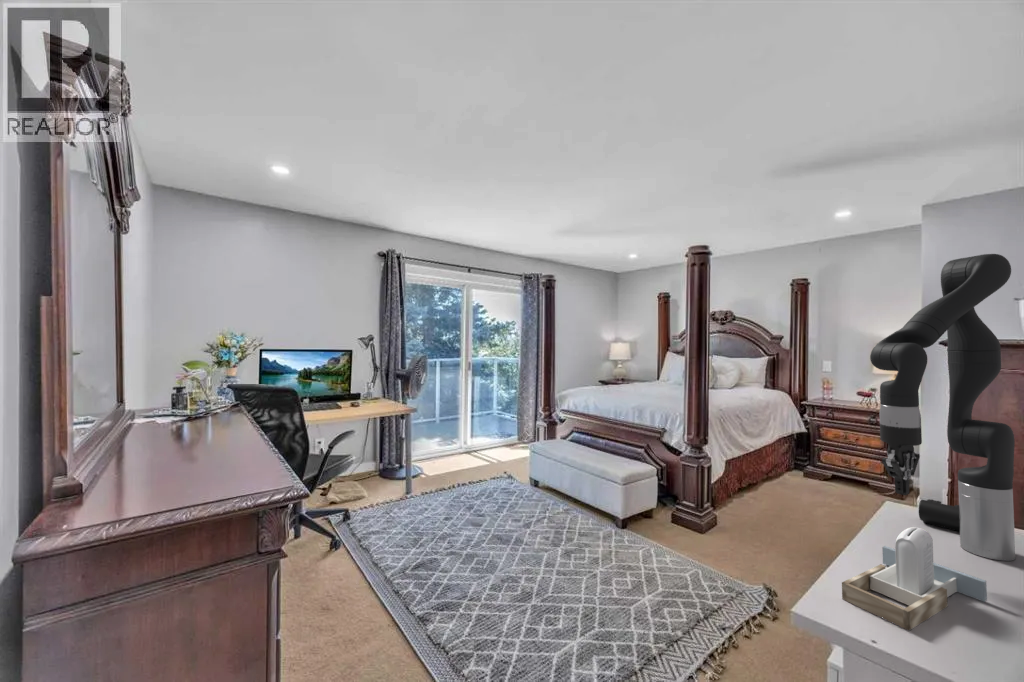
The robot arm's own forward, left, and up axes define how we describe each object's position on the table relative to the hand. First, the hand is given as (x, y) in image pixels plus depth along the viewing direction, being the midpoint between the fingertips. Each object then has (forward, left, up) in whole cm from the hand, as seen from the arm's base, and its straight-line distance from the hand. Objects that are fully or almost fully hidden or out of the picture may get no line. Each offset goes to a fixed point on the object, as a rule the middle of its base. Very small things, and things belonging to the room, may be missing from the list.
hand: (902, 493), depth 103 cm
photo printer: (+14, +7, -16) cm, 22 cm away
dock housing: (+22, +7, -16) cm, 28 cm away
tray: (+14, +7, -17) cm, 23 cm away
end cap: (-33, -4, -17) cm, 37 cm away
